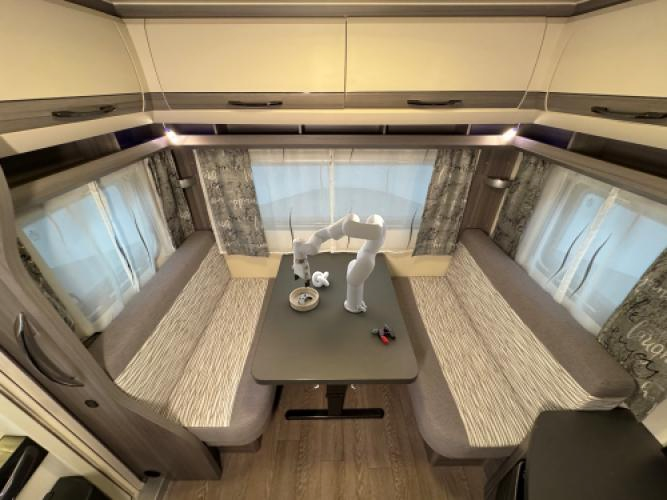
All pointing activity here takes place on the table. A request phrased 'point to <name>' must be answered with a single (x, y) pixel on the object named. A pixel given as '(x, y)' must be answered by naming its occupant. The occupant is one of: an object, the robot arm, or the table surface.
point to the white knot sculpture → (320, 279)
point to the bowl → (308, 302)
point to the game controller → (304, 298)
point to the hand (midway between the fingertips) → (302, 282)
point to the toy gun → (384, 333)
